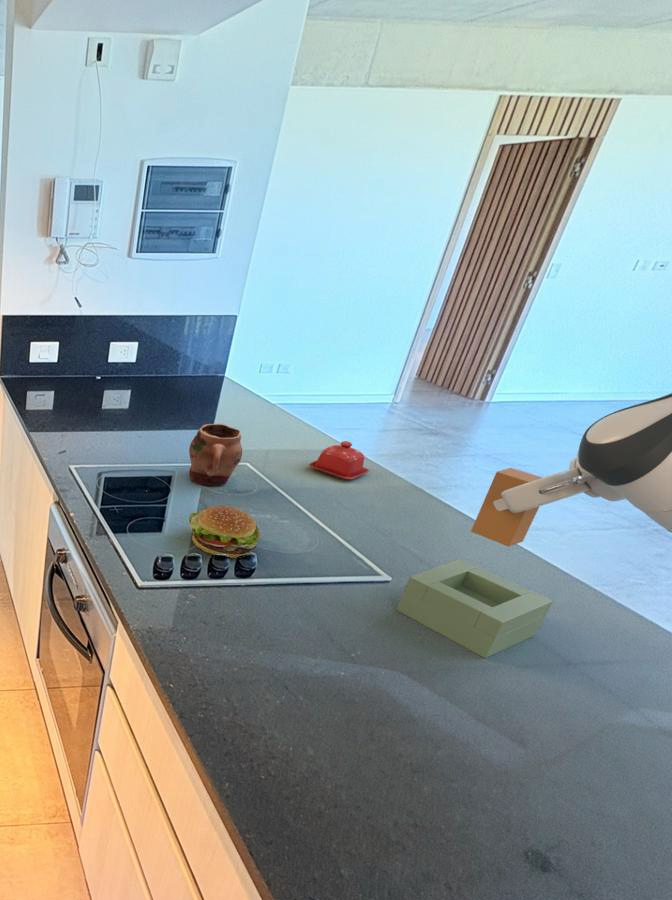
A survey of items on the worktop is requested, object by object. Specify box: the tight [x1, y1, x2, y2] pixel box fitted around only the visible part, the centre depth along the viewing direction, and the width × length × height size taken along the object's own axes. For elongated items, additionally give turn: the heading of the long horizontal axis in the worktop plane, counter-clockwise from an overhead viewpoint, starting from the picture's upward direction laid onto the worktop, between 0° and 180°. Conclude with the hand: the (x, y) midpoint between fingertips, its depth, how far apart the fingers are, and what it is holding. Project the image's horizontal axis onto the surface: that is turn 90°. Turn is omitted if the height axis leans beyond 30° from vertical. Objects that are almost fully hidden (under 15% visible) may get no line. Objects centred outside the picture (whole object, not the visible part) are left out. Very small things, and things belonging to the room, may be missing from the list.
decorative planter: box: [188, 423, 243, 487], centre depth 154 cm, size 20×12×14 cm, turn 165°
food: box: [188, 505, 261, 559], centre depth 126 cm, size 14×14×8 cm
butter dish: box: [308, 440, 370, 480], centre depth 161 cm, size 12×12×8 cm
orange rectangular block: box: [470, 467, 544, 547], centre depth 100 cm, size 4×6×11 cm
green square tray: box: [396, 558, 554, 659], centre depth 103 cm, size 14×14×7 cm
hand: (507, 502), depth 100 cm, fingers closed on orange rectangular block, 4 cm apart
